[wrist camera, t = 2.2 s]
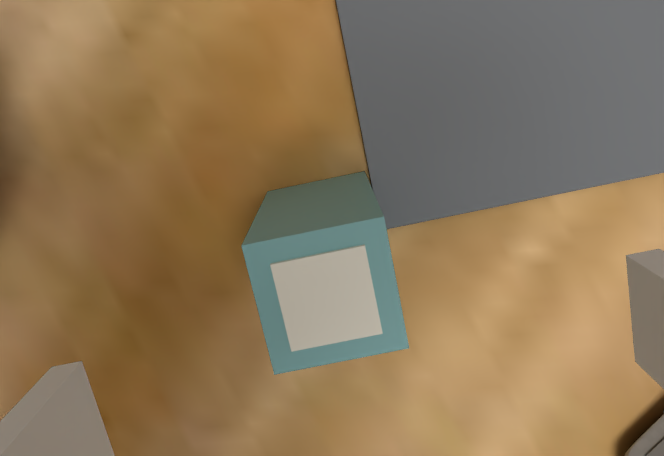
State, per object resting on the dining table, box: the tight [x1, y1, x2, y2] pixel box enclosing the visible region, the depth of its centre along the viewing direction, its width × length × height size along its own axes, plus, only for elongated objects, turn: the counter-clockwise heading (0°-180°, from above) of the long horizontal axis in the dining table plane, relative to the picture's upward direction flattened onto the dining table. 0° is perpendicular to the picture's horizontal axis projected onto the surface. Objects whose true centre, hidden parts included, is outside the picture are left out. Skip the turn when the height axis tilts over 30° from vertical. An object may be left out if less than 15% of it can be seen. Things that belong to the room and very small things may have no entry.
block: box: [241, 171, 409, 375], centre depth 23 cm, size 4×4×9 cm
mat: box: [336, 0, 664, 229], centre depth 26 cm, size 17×13×1 cm
